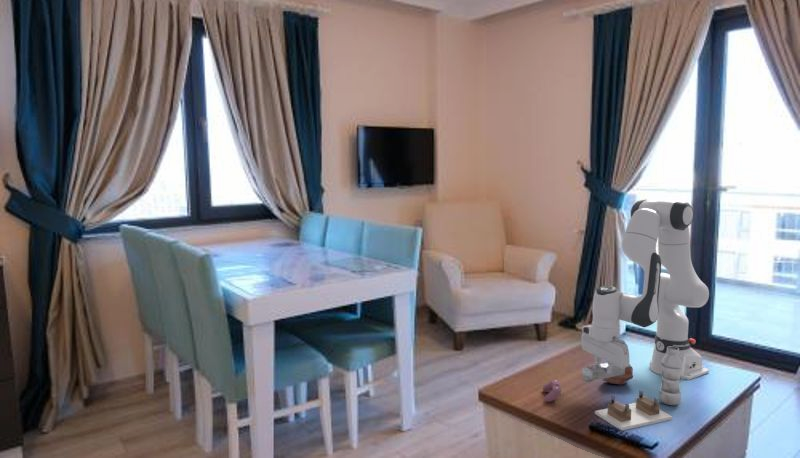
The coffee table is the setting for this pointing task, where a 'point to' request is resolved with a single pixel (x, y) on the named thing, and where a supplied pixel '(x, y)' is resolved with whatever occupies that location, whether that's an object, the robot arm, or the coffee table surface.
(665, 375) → the plastic bottle
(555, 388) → the video game controller
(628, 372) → the stone
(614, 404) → the spanner rack
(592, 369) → the grey long cylinder
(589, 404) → the coffee table surface
